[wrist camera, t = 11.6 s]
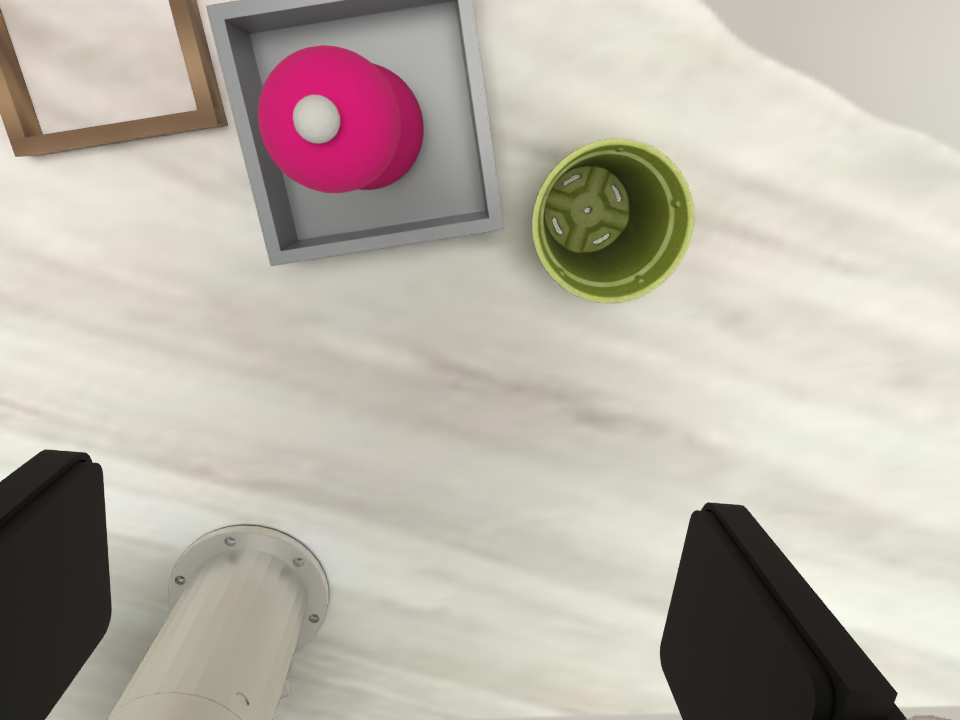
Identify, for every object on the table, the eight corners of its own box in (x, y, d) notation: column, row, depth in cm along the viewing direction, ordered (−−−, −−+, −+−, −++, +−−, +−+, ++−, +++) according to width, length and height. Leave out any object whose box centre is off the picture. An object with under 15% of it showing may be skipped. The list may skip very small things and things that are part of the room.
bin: (497, 219, 47) (504, 229, 41) (292, 251, 47) (270, 266, 41) (465, -13, 42) (467, -37, 37) (237, 23, 42) (205, 5, 37)
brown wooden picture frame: (227, 125, 44) (217, 124, 42) (34, 156, 44) (15, 156, 42) (170, -102, 40) (156, -114, 38) (-43, -67, 40) (-68, -78, 38)
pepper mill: (430, 182, 45) (418, 210, 26) (322, 189, 45) (232, 223, 26) (420, 65, 43) (399, 4, 24) (307, 72, 43) (195, 16, 24)
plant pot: (559, 300, 49) (581, 331, 41) (493, 186, 46) (503, 195, 38) (673, 233, 48) (720, 251, 39) (612, 112, 45) (649, 104, 37)
